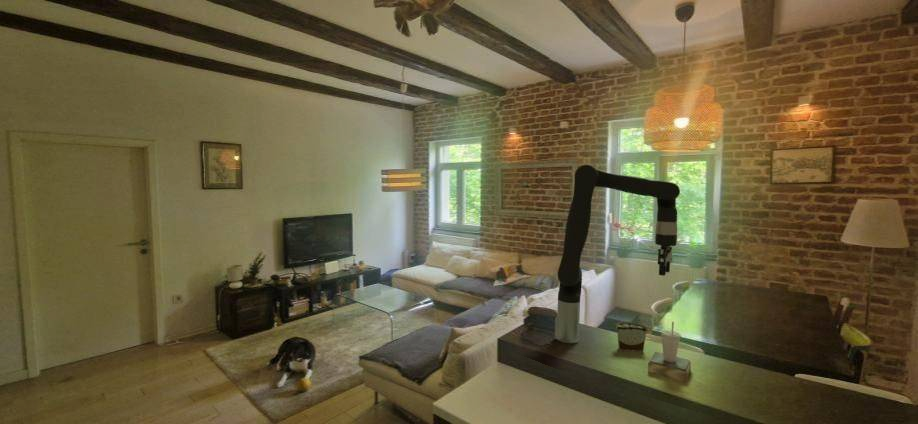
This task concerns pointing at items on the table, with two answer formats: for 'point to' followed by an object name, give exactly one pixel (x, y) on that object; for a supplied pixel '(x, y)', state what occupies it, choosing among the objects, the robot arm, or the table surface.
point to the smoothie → (670, 344)
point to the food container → (631, 336)
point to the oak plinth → (670, 367)
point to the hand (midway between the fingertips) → (664, 273)
